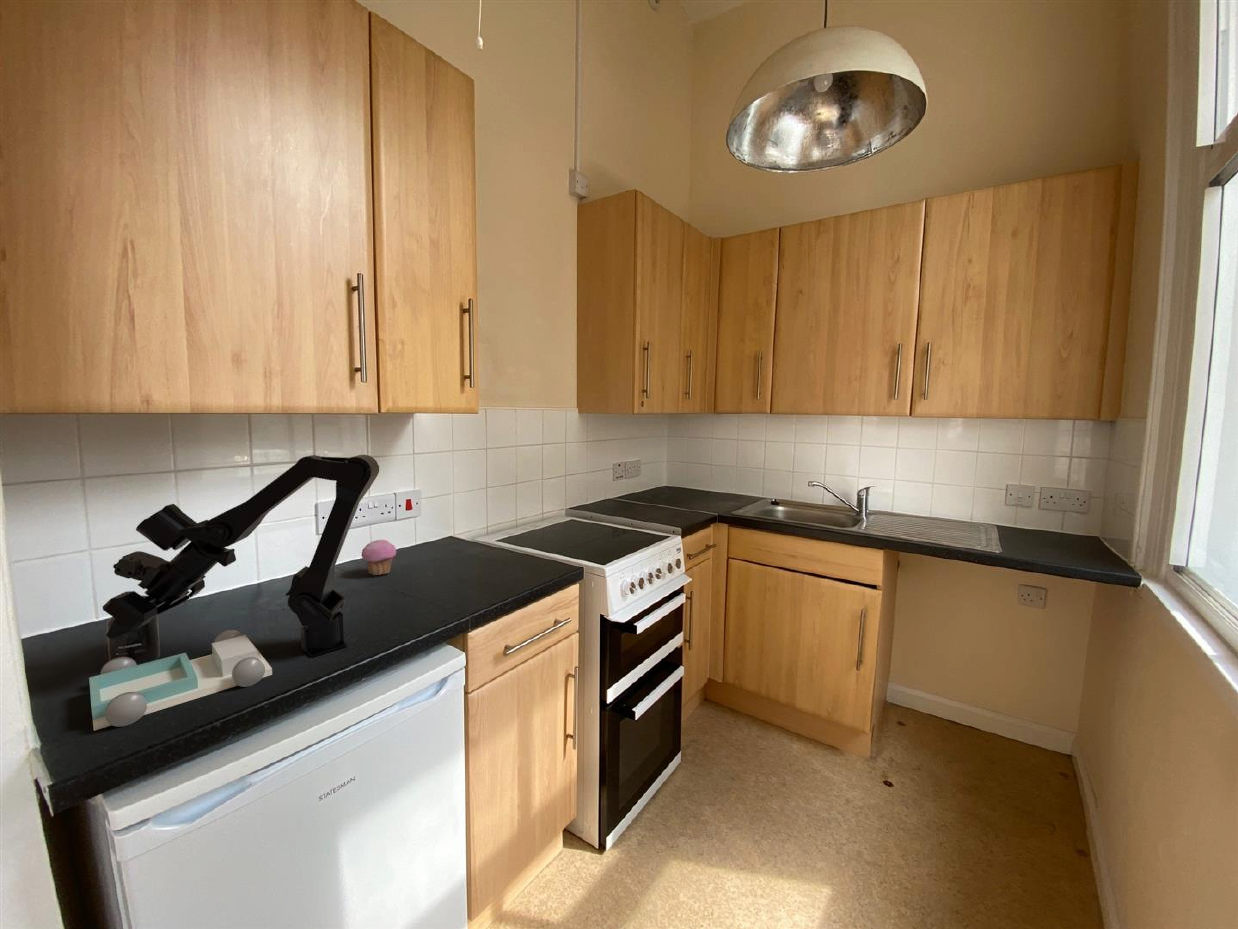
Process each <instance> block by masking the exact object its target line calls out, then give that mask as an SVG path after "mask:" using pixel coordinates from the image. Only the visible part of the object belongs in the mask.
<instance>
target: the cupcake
mask: <svg viewBox="0 0 1238 929" xmlns="http://www.w3.org/2000/svg"><path fill="white" fill-rule="evenodd" d="M396 555H397V547H396V546H395V545H394V544H393V543H392V542H389V540H386V539H377V540H373V541H371V542H369V543H367V544H366V545H365V546H364V547H363V548H362V550H361V558H362V559H363V560H364V561H366V564H367V571H368V574H369V573H371V574H374V575H380V576H381V574H382V575H387V574H386V573H388V574H389V573H390V571H391V567H392V562H393V559H394V557H395V556H396Z"/></svg>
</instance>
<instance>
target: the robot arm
mask: <svg viewBox="0 0 1238 929" xmlns="http://www.w3.org/2000/svg"><path fill="white" fill-rule="evenodd" d="M379 473H380V465H379V464H378V462H377V460H376V459H375V458H374V457H372V455H368V454H358V455H355V456H351V457H339V456H338V457H337V456H321V455H317V454H313V455H311V454H310V455H308V456H302V457H300V458H299V459H298V460H297V462H296V463H295V464H293V465H292V466H291V467H290V468H288V469H286V470H285V471H284V472H283V473H282V474H280V475H279V476H278V477H277V478H275V479H273V481H271V482H270V483H269V484H267V485H266V486H265V487H263V488H262V489H260V490H259V491H258V492H257V493H256V494H254V495H253V496H251V497H250V498H249V499H247V500H246V501H244V502H243V503H239V504H238V505H236V506H234V507H232V508H230V509H227V510H226V511H224V512H222V513H220V514H218V515H216V516H214V517H212V518H210V519H205V520H202V521H199V522H197V521H195V520H194V519H193V518H191V517H190V516H188V514H186V513H185V512H183V511H182V510H181V508H180V507H178V506H177V504H175V503H171V504H168V505H165V506H164V507H163V508H161V509H159V510H158V511H157V512H154V513H153V514H152V515H150V516H148V517H147V518H145V519H143V520H142V521H141V522H139V524H138V525H137V526H136V528H135V531H136V532H137V533H139V534H140V535H142V536H143V537H144V538H146V539H147V540H149V541H150V542H151V543H153V544H154V545H155V546H156V547H158V548H159V549H161V550H162V551H164V552H165V551H166V552H167V551H169V550H170V549H172V550H173V551H177V550H179V549H181V548H182V549H181V550H180V551H179V552H178V553H177V554H176V555H175V556H174V557H173V558H172V559H171V560H170V561H169V560H165V559H164V558H162V557H160V556H157V555H154V554H152V553H148V552H145V551H134V552H131V553H128V554H125V555H123V556H122V557H121V558H119V559H118V561H117V562H116V563H114V564H113V566H112V567H113V569H114V570H113V572H114V574H115V576H119V577H122V578H125V579H128V580H129V579H133V580H135V581H140V582H139V583H137V586H138V587H140V588H141V589H142V590H145V591H144V594H145V596H147V597H145V598H143V597H142V596H143V595H141V594H139V593H138V592H136V591H135V590H130V591H124V592H122V593H120V594H117V595H116V596H114V597H111V598H110V599H109V600H107V602H106V603H105V604H103V605H102V610H103V611H104V612H105V613H106V614H108V615H110V616H111V617H114V618H115V619H114V621H113V623H112V625H111V627H110V629H109V631H108V633H107V632H106V634H105V636H106V637H108V638H110V639H113V638H116V637H118V636H120V635H122V634H125V633H127V632H129V631H132V630H136V629H138V628H140V627H142V626H144V625H145V624H147V623H149V622H150V621H152V619H153V618H154V617H155V616H156V615H157V614H158V615H159V614H162V613H164V612H167V611H169V610H170V609H173V608H175V607H177V606H179V605H181V604H183V603H185V602H186V601H188V600H189V599H190V598H193V597H194V596H196V595H198V594H199V593H200V592H201V591H202V590H203V589H205V587H206V583H205V582H206V580H204V579H205V578H206V575H207V573H209V571H210V570H211V569H213V567H215V566H216V565H217V564H220V565H221V566H222V567H227V566H229V565H231V564H233V563H235V562H236V561H237V557H236V554H235V548H227V547H229V546H232V545H233V544H236V543H238V542H240V541H242V540H244V539H246V538H248V537H249V536H250V535H251V534H253V532H254V531H255V530H256V529H257V527H259V525H260V524H261V523H262V522H263V520H264V518H265V517H266V516H267V515H268V514H269V513H270V512H271V511H272V510H274V509H275V508H276V507H278V506H279V505H280V504H281V503H283V502H284V501H286V500H287V499H288V498H289V497H291V496H292V495H293V494H294V493H296V492H297V491H298V490H300V489H301V488H303V487H304V486H305V485H306V484H308V483H309V482H310V481H312V480H313V479H314V478H315V479H322V480H327V481H334V482H335V481H336V482H335V500H334V503H333V505H332V507H331V510H330V513H329V515H328V518H327V520H326V523H325V526H324V527H323V530H322V533H321V536H320V539H319V541H318V544H317V547H316V549H315V551H314V554H313V556H312V559H311V562H310V563H309V564H310V565H309V566H307V565H304V567H302V568H301V569H300V570H299V571H297V572H296V573H295V574H293V576H292V579H291V586H290V588H289V590H288V591H287V592H286V593H285V596H286V597H288V598H287V607H289V608H290V611H292V612H293V613H294V614H296V616H297V618H298V620H299V623H300V624H301V626H302V627H300V642H301V643H300V645H301V646H300V648H301V649H303V651H304V652H306V653H307V654H308V655H309V656H310V657H312V658H313V657H317V656H320V655H322V654H327V653H329V652H333V651H337V650H339V649H343V648H345V647H348V642H347V641H346V640H345V631H344V629H345V626H344V624H345V623H344V614H343V613H342V612H341V611H340V610H341V609H343V607H344V605H345V601H346V597H344V596H343V595H342V594H340V593H339V592H338V591H337V590H335V588H334V585H335V584H334V583H335V578H336V577H335V575H336V574H335V567H336V564H337V562H338V559H339V556H340V553H341V551H342V550H343V549H342V548H343V546H344V543H345V542H346V541H345V540H346V538H347V535H348V533H349V531H350V528H351V525H352V523H353V521H354V518H355V516H356V512H357V510H358V507H359V505H360V502H361V501H362V499H363V498H364V497H365V496H366V494H367V493H368V491H369V490H370V488H371V487H372V485H373V483H374V482H375V480H376V479H377V477H378V476H379ZM186 544H187V545H186ZM184 546H185V547H184ZM108 638H107V639H108Z"/></svg>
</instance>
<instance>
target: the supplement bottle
mask: <svg viewBox="0 0 1238 929" xmlns="http://www.w3.org/2000/svg"><path fill="white" fill-rule="evenodd" d="M141 596H142V597H143V598H145V597H147V596H148V595H141ZM158 615H159V614H157V615H156V616H155V617H154V618H153V619H152V621H150V622H149V623H147V624H145V625H144V626H142V627H140V628H138V629H136V630H132V631H129V632H127V633H125V634H122V635H120V636H118V637H116V638H113V639H110V638H108V637H107V636H106V637H107V650H108V662H109V661H111V660H112V659H115V658H118V657H129V658H132V659H133V660H134V661H135V662H136V665H140V664H144V663H148V662H152V661H155V660H159V658H160V656H161V644H160V629H159V616H158ZM114 619H115V618H114V617H112V616H111V617H110V618H109V619H108V620H107V622H106V634H107V633H108V631H109V629H110V627H111V625H112V623H113V621H114Z"/></svg>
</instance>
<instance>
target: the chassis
mask: <svg viewBox="0 0 1238 929" xmlns="http://www.w3.org/2000/svg"><path fill="white" fill-rule="evenodd" d="M211 650H212V651H211V652H212V653H211V654H208V655H204V656H201V657H197V658H193V659H190V658H189V656H188V655H187V652H183V653H179V654H178V653H177V654H175V655H171V656H167V657H164V658H160V659H159V658H158V659H157V660H155V661H152V662H148V663H144V664H140V665H136V662H135V661H134V660H133V659H132V658H129V657H118V658H115V659H112V660H111V661H109V660H108V662H105V664H104V665H103V666H102V668H101V670H100V674H99V675H93V676H91V677H88V680H89V692H90V705H91V715H92V726H93V731H97V730H101V729H103V728H104V729H105V728H107V727H110V726H114V727H118V728H119V727H125V726H126V727H127V726H129V725H131V724H134V723H136V722H137V721H139V720H140V719H141V718H142V717H144V716H145V715H148V714H152V713H154V712H158V711H161V710H165V709H167V708H172V707H174V706H177V705H180V704H183V703H186V702H189V701H193V700H196V699H199V698H203V697H205V696H209V695H212V694H215V693H218V692H221V691H224V690H228V689H231V688H234V687H237V686H238V687H244V688H245V687H246V688H247V687H251V686H254V685H256V684H258V683H259V681H261V680H262V679H263V678H266V677H269V676H272V675H273V668H272V666H271V665H270V664H269V662H268V661H267V660H266V658H264V657H263V655H262V654H261V652H260V651H259V650H258V648H257V647H256V645H254V643H252V642H251V641H250V639H249V638H248V636H247V635H246V634H243V635H242V634H241V633H240V632H239V631H238V630H235V629H227V630H225V631H222V632H220V633H219V634H218V635H217V636H216V637H215V638H214V641H213V642H212V643H211Z"/></svg>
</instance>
